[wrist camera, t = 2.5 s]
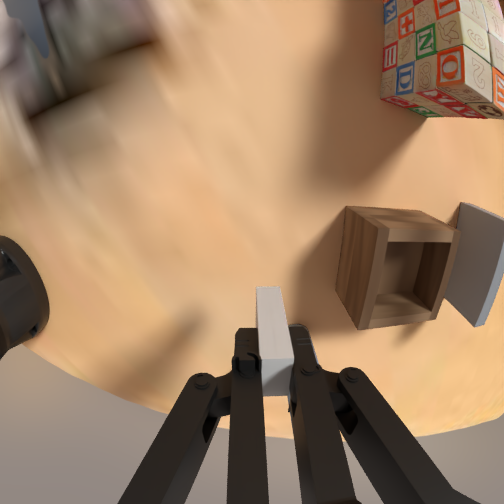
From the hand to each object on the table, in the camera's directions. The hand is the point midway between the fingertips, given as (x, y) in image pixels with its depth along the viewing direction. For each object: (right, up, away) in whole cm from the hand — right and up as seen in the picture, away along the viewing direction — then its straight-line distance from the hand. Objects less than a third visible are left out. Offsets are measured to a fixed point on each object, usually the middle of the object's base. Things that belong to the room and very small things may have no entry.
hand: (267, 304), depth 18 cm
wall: (+24, +4, +9) cm, 26 cm away
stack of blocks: (+15, +27, 0) cm, 31 cm away
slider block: (+12, +4, +9) cm, 16 cm away
